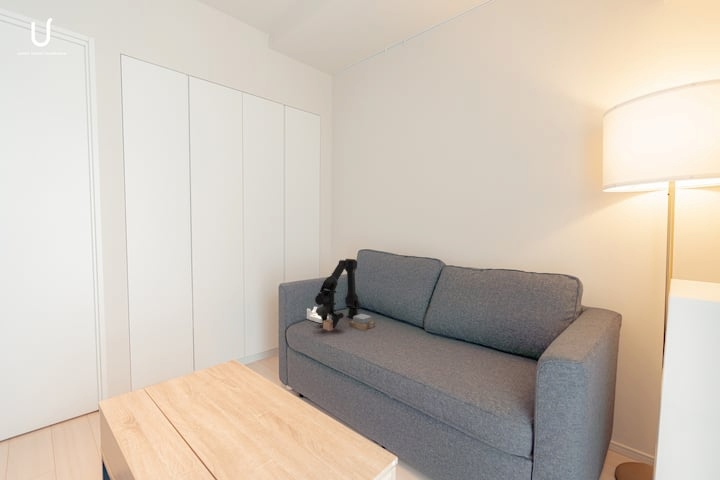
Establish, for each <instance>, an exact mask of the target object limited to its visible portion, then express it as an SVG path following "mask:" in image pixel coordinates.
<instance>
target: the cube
mask: <svg viewBox="0 0 720 480" xmlns="http://www.w3.org/2000/svg"><path fill="white" fill-rule="evenodd" d="M322 324H323V325H322V326H323V328H322V329H323V330H326V331H328V332H330V331H333V330H334V329H333V321H332V319H331V318H329V319H328V320H324V321H323V323H322Z"/></svg>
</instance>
